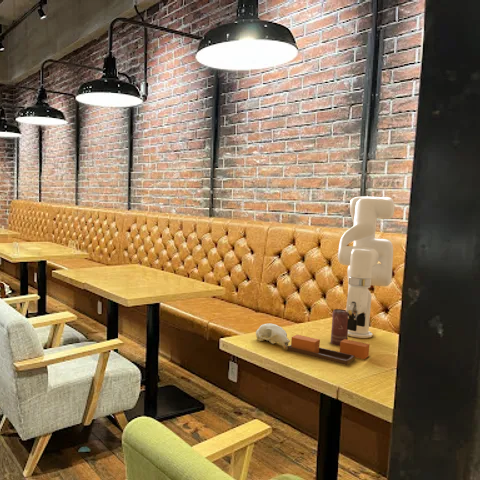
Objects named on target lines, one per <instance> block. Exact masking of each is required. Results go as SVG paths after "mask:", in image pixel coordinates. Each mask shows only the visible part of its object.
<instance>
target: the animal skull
mask: <svg viewBox="0 0 480 480" xmlns="http://www.w3.org/2000/svg"><path fill="white" fill-rule="evenodd" d="M255 337H256V340H257V341H259V342H264V341H265V340H266V342H268V341H269V343H270V344H271V345H274V344H275V343H277V344H279V345H281V346H282V347H283V349H284V350H287V347H288V346H289V344H290V343H291V341H290V339H289V338H288V335H287V332H286V330H285V329H284V328H283V327H282V326H279V324H275V323H270V322H269V323H264V324H263V323H262V324H261V325H260V326H259V327H258V329H256V330H255Z"/></svg>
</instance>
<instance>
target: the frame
mask: <svg viewBox="0 0 480 480" xmlns="http://www.w3.org/2000/svg"><path fill="white" fill-rule="evenodd" d="M286 351H287V352H291V353H295V354H299V355H303V356H307V357H312V358H316V359H319V360H323V361H327V362H332V363H336V364H340V365H344V366H348V365H350V364H351V363H352V362H354V361H355V359H356V357H355V356H354V355H350V354H346V353H341V352H340V351H336V350H332V349H328V348H323V347H321V346H319V353H314V352H310V351H306V350H301V349H297V348H293V347H291V344H290V345H288V347H287V349H286Z"/></svg>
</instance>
